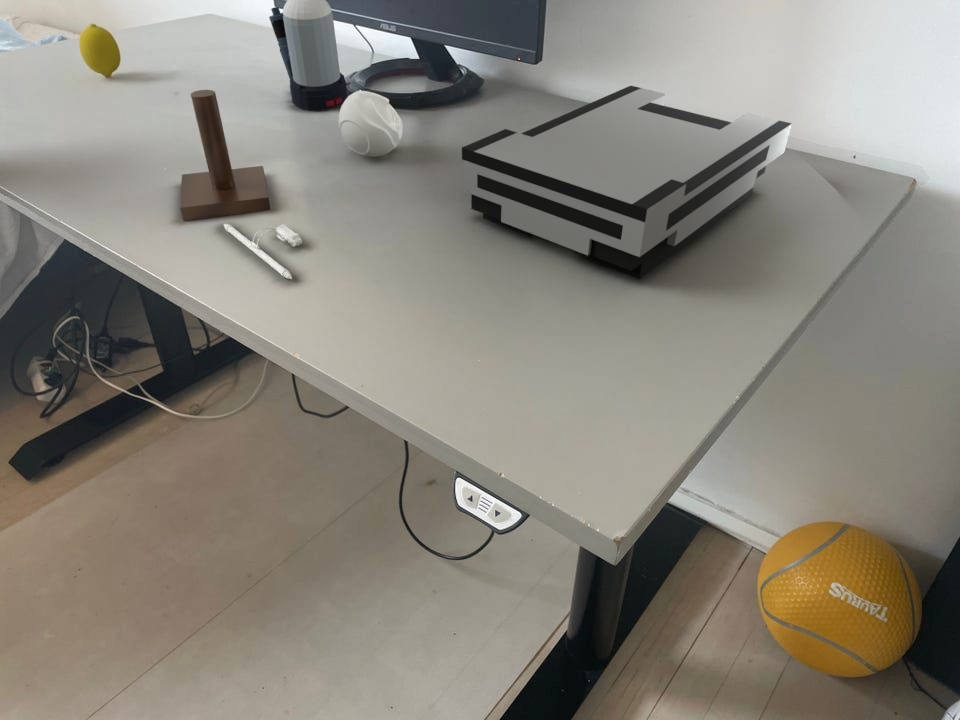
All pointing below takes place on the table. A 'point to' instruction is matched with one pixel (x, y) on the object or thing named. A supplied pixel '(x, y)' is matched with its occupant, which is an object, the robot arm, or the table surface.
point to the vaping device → (281, 37)
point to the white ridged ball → (369, 124)
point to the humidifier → (313, 56)
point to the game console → (621, 176)
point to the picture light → (284, 235)
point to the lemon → (99, 50)
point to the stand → (219, 172)
